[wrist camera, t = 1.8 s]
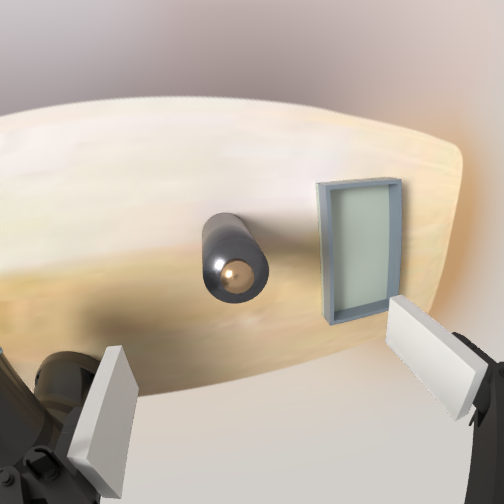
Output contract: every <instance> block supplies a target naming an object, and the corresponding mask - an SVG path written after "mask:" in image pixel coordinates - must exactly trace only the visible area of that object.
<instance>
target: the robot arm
mask: <svg viewBox="0 0 504 504" xmlns="http://www.w3.org/2000/svg"><path fill="white" fill-rule="evenodd" d="M385 343H387V345H388V346H389V347H390V348H391V349H392V350H393V351H394V352H395V353H396V355H397V356H399V358H400V359H401V360H402V361H403V362H404V363H405V365H406V366H407V367H408V368H409V369H410V370H411V371H412V372H413V373H414V375H415V376H416V377H417V378H418V379H419V380H420V381H421V382H422V384H423V385H424V386H425V387H426V388H427V389H428V390H429V392H430V393H431V394H432V395H433V396H434V397H435V398H436V400H437V401H438V402H439V403H440V404H441V405H442V406H443V408H444V409H445V410H446V411H447V412H448V413H449V415H450V416H451V417H452V418H453V419H454V420H455V421H457V420H458V419H460V418H462V417H463V416H465V415H467V414H468V413H469V410H470V408H471V406H472V404H473V405H474V406H475V407H476V410H475V413H474V415H473V417H472V419H471V421H470V423H469V426H471V425H472V423H473V421H474V433H473V446H472V456H471V465H470V473H469V480H468V486H467V492H466V497H465V503H464V504H504V362H499V363H496V362H495V361H494V360H493V359H492V358H490V357H489V356H488V355H487V354H486V353H484V352H483V351H482V350H481V349H480V348H477V346H476V345H475V344H473V343H471V341H470V340H468V339H467V338H466V337H465V336H463V335H461V334H458V333H456V332H453V333H450V332H449V331H448V330H446V329H445V328H444V327H443V326H442V325H440V324H439V323H438V322H437V321H435V320H434V319H433V318H432V317H430V316H429V315H428V314H427V313H425V312H424V311H423V310H421V309H420V308H419V307H418V306H416V305H415V304H414V303H412V302H411V301H410V300H409V299H407V298H406V297H405V296H403V295H402V294H401V295H398V296H394V297H390V301H389V312H388V322H387V331H386V339H385ZM2 352H3V350H2V348H1V347H0V504H100V497H101V496H102V497H105V498H118V499H121V496H122V487H123V480H124V473H125V466H126V459H127V452H128V446H129V441H130V434H131V429H132V423H133V418H134V412H135V407H136V402H137V397H138V392H139V387H138V385H137V383H136V380H135V378H134V375H133V373H132V371H131V368H130V366H129V363H128V360H127V358H126V355H125V353H124V350H123V347H122V345H120V346H109V347H107V348H106V351H105V353H104V356H103V358H102V360H101V363H100V362H99V361H97V360H95V359H93V358H91V357H88V356H85V355H82V354H79V353H74V352H58V353H54V354H52V355H50V356H48V357H47V358H46V359H45V360H44V361H43V363H42V364H41V366H40V368H39V369H38V371H37V374H36V378H35V388H34V394H33V393H32V392H31V391H30V389H29V388H28V387H27V386H26V385H25V383H24V382H23V381H22V379H21V378H20V377H19V375H18V374H17V373H16V371H15V370H14V369H13V367H12V366H11V364H10V363H9V362H8V360H7V359H6V357H5V356H4V354H3V353H2Z"/></svg>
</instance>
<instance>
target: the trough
mask: <svg viewBox="0 0 504 504" xmlns="http://www.w3.org/2000/svg"><path fill="white" fill-rule="evenodd" d="M316 194H317V208H318V224H319V241H320V263H321V293H322V315H323V317H324V318H325V319H326V321H327V322H328V323H329V325H330V326H331V325H335V324H339V323H343V322H347V321H351V320H355V319H359V318H363V317H366V316H370V315H374V314H378V313H381V312H385V311H388V310H389V301H390V297H394V296H398V293H399V281H400V266H401V243H402V184H401V179H397V178H391V177H381V178H367V179H355V180H343V181H332V182H322V183H316Z"/></svg>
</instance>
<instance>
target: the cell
mask: <svg viewBox="0 0 504 504" xmlns="http://www.w3.org/2000/svg"><path fill="white" fill-rule="evenodd" d="M202 259H203V280H204V283H205V286H206V288H207V289H208V291H209V292H210V293H211V294H212V295H213V296H214V297H216V298H217V299H219V300H221V301H223V302H227V303H242V302H246V301H249V300H251V299H253V298H254V297H256V296H257V295H258V294H259V293H260V292H261V291H262V290H263V288H264V287H265V285H266V283H267V280H268V276H269V266H268V262H267V259H266V257H265V256H264V254H263V252H262V251H261V249H260V248H259V246H258V245H257V243H256V241H255V240H254V238H253V237H252V235H251V234H250V232H249V231H248V229H247V227H246V226H245V224H244V223H243V221H242V220H241V219H240V218H239V217H237V216H236V215H234V214H231V213H219V214H216V215H214V216H212V217H211V218H210V219H209V220H208V221H207V222H206V224H205V225H204V228H203V231H202Z"/></svg>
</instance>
